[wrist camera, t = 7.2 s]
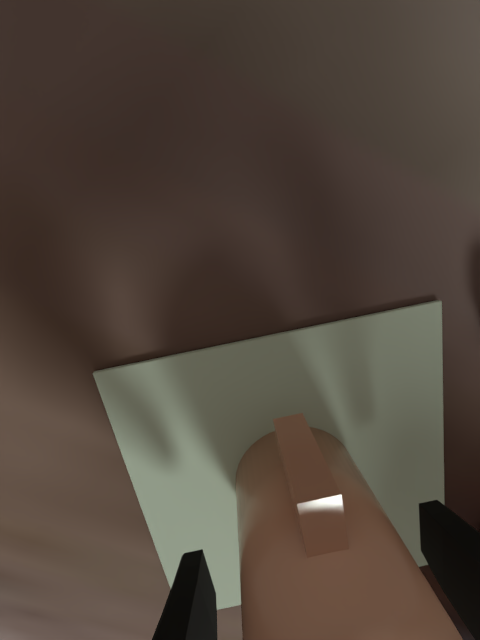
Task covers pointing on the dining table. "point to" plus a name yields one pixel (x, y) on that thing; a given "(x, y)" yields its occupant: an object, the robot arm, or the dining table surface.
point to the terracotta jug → (323, 548)
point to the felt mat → (257, 421)
